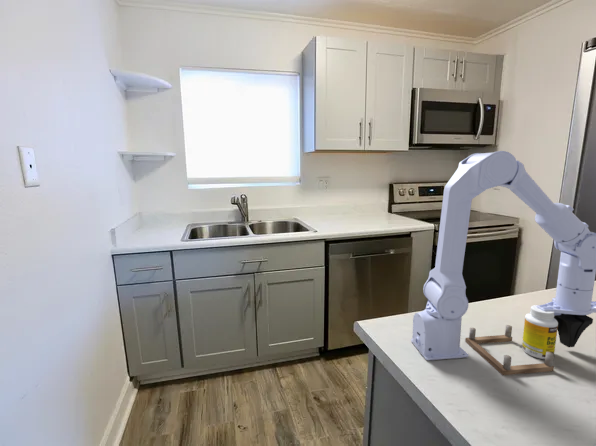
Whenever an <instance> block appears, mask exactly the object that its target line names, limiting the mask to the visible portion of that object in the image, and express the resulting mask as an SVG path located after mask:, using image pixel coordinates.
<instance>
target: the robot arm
mask: <svg viewBox="0 0 596 446" xmlns="http://www.w3.org/2000/svg"><path fill="white" fill-rule="evenodd" d="M495 187H502V188H506V189H509V190H510V191H511V192H512V193H513V194H514V195H515V196H517V198H518V199H520V200H521V201H522V202H523V203H524V204H526V205H527V206H528V208H530V209H531V210H532V211H534V213H535V216H534V220H535V222H536V224H537V225H538V226H539V227H540V228H541V229H543V230H544V232H546V233H547V235H549V237H551V238H552V240H553V243H554V244H553V245H554V247H555V249H556V250H558V251H559V252H560V257H559V266H558V271H557V272H558V273H557V281H556V282H557V283H556V288H555V290H556V292H555V297H552V298H551V301H549V302H547V303H544V304H538V305H537V304H536V305H537V306H536V307H537V308H539V309H541V310H543V311H554V318H555V319H556V320H557V322H558V329H557V335H558V337H559V343H560V344H562V345H563V346H566V347H567V348H575V346H576V345H577V342H578V341H579V339H580V337H581V335H582V334H583V333H584V332H585V330H586V329H587V328H589V327H590V326H591V325H592V324H593V323H594V318H592V317H591V316H589V315H591V314H594V313H596V301H593V294H594V289H595V288H594V287H595V281H596V232H595V231H594V232H593V231H590V229H589V227H590V226H589V224H587V223H586V222H583V221H581V219H580V218H579V217H578V216H577V215H575V213H573V211H574V210H575V209H574V208H573V207H572V205H569V204H564V203H562V202H553V201H552V200H551V198H550V197H549V196H548V195H547V194H546V192H545V191H543V189H542V188H541V187H540V186H539V185H538V183H537V182H536V181H535V180H534V179H533V178H532V176H530V174H529V173H528V172H527V171H526V168H525V165H524V164H523V163H522V162H521V161H520V160H517V159H516V156H515V155H513V154H512V153H511V152H509V151H506V150H497V151H494V152H493V151H492V152H485V153H484V152H483V153H481V152H476V153H472V154H470V155H468V156H467V157H466V158H464V159H463V160H461V161H459V163H458V167H457V169H456V170H455V172H454V173H453V174H452V176H451V177H450V179H449V180H448V181H447V183H446V184H445V186H444V189H443V195H442V196H443V197H442V205H441V211H440V212H441V213H440V221H439V223H440V224H439V230H438V236H437V237H438V239H437V247H436V253H435V255H436V256H435V263H434V266H435V267H434V268H432V269H431V270H429V273H428V278H427V280H426V281H425V283H424V284H423V288H422V290H423V296H424V297H425V298H426V299H427V302H426V305H425V309H423V310H422V311H419V312H416V313H414V315H413V318H412V338H411V339H410V341H411V343H412V344H413V345H414V346H415V348H416V349H417V351H418V352H419V353H420V354H421V355H422V357H423V358H424V359H425V360H426V361H436V360H446V359H447V360H450V359H461V358H469V353H468V352H466V351H465V350H464V349H463V348H462V347H461V336H462V335H461V332H462V318H463V316H464V315H465V314H466V313H467V312H468V309H469V299H468V297H467V295H466V289H467V286H466V282H465V279H464V276H463V270H464V261H465V254H466V253H465V252H466V246H467V238H468V230H469V226H470V225H469V223H470V218H471V216H470V215H471V208H472V200H473V199H474V198H476V197H478V196H479V195H480V194H482V193H484V192H485V191H487V190H490V189H493V188H495Z"/></svg>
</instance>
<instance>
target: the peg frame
mask: <svg viewBox="0 0 596 446" xmlns="http://www.w3.org/2000/svg"><path fill="white" fill-rule="evenodd" d="M504 331H505V332H504V334H499V335H488V336H487V335H484V336H476V328H475V327H469V335H468V337H465V339H464V342H465V343H466V344H467V345H468V346H469V347H470V348H472V349H473V351H475V352H476V353H477V354H478V355H480V356H481V358H483V359H484V360H485V361H486V362H487V363H488V364H490V366H492V367H493V368H494V369H495V370H496V371H498V372H499V374H501V375H502V376H510V375H522V374H525V375H526V374H535V373H536V374H538V373H546V372H547V373H548V372H554V369H555V366H554V357H555V356H554V355H555V353H554V354H553V353H551V352H546V356H545V359H544V362H543V363H532V364H530V363H529V364H518V365H512V356H510V355H508V354H504V355H503V362H502V363H503V364H502V363H501V362H500V361H499V360H498V359H497V358H495V357H494V356H493V355H492V354H490V352H488V351H487V350H486V349H485V348H483V347H482V346H481V344H494V343H506V342H513V337H512V332H513V326H512V325H511V324H510V325H509V324H506V325H505V330H504Z"/></svg>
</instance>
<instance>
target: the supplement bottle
mask: <svg viewBox="0 0 596 446" xmlns="http://www.w3.org/2000/svg"><path fill="white" fill-rule="evenodd" d="M536 306H537V304H534V305H531V306H530V311H529V313H526V314H525V316H524V325H523V332H522V333H523V334H522V343H521V347H522V350H523V352H525V353H526V354H527V355H529V356H531V357H534V358H536V359H542V360H545V356H546V352H551V353H553V354H554V355H555V352H556V351H555V350H556V344H557V336H558V330H557V329H558V322H557V320H556V319H555V318H554V311H543V310H541V309H539V308H537V307H536Z"/></svg>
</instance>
